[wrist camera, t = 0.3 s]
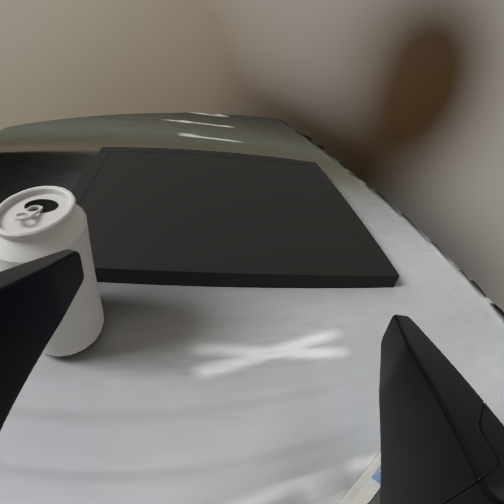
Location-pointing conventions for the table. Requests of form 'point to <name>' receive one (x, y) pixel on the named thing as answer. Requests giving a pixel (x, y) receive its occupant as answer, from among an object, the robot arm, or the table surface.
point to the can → (48, 242)
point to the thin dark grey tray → (223, 222)
